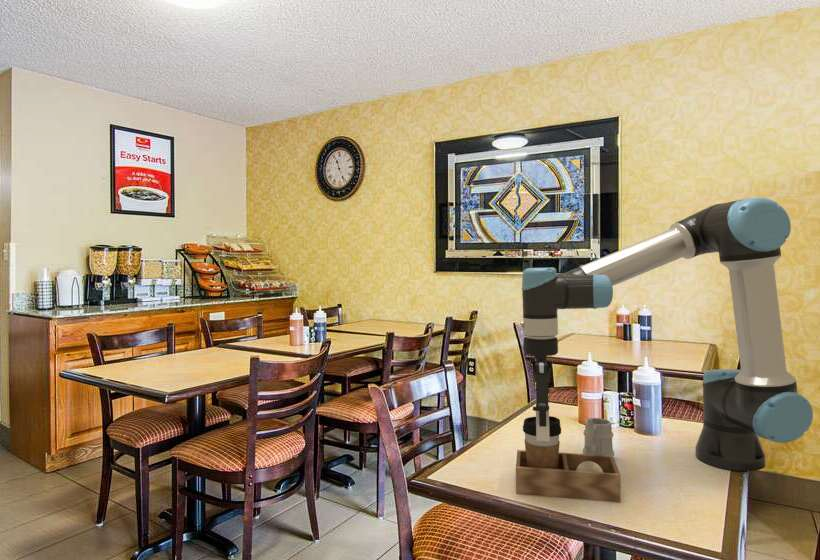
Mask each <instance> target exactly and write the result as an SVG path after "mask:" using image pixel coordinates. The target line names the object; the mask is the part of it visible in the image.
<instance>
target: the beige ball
mask: <svg viewBox="0 0 820 560" xmlns="http://www.w3.org/2000/svg"><path fill="white" fill-rule="evenodd" d="M576 471H588V472H602V473H603V470H602V468H601V467H600V466H599V465H598V464H596V463H595V462H592V461H585V462H582V463H581V464H579V466H578V467H577V469H576Z"/></svg>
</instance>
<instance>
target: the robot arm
mask: <svg viewBox="0 0 820 560" xmlns="http://www.w3.org/2000/svg"><path fill="white" fill-rule="evenodd" d="M791 226H792V225H791V219H790V217H789V214H788V212H787V211H786V210H785V209H784V207H783V206H781V205H780V204H779V203H777V202H776V201H775V200H773V199H769V198H766V197H745V198H742V199H738V200H733V201H729V202H727V201H726V202H723V203H722V202H721V203H717V204H714V205H710V206H708V207H706V208H704V209H701V210H699V211H697V212H695V213H694V214H693V213H692V214H691V215H689V216H687V217H685V218H683V219H681V220H679V221H676V222H674V223H672V224H671V225H670V226H669V228H668V229H667V230H665V231H663V232H660V233H658V234H656V235H655V234H654V235H652V236H650V237H648V238H645V239H644V240H642V241H639V242H637V243H634V244H631V245H629V246H626V247H625V248H622V249H619V250H616V251H614V252H612V253H609V254H607V255H605V256H602V257H600V258H598V259H595V260H593V261H591V262H588V263H586V264H583V265H581V266H579V267H576V268H573V269H571V270H569V271H566V272H559V273H557V268H555V267H527V268H525V269H524V270H523V272H522V278H521V293H522V295H521V296H522V320H523V321H520V326H521V327H523V335H524V338H523V339H522V341H523V342H522V343H523V345H522V346H523V353H524V354H525V355H527V356H531V357H532V356H534V359H535V360H532V361H531V370H532V371H531V372H532V373H533V374H532V376H533V382H534V383H535V384H534V386H535V406H532V411H533V412H534V411H535V417H536V441H550V436H549V416H550V405H549V394H550V392H551V389H550V388H549V383H550V378H551V377H550V372H551V361H548V360H547V357H549V356H550V357H552V356H556V355H557V354H558V353H559V339H558V337H557V335H558V334H559V324H558V323H559V321H558V317H559V316H558V310H572V309H573V310H577V309H580V310H582V309H583V310H584V309H585V310H586V309H594V310H596V309H602V308H603V309H604V308H608V307H609V306H610V305H611V303H612V302H613V297H614V286H615V285H618V284H621V283H623V282H625V281H628V280H630V279H632V278H636V277H638V276H641V275H643V274H645V273H647V272H650V271H653V270H655V269H657V268H660V267H662V266H664V265H666V264H669V263H673V262H675V261H677V260H680V259H682V258H683V259H686V260H690V259H693V258H695V257H697V256H701V255H706V254H711V253H712V254H713V253H718V257H719V263H720V265H721V264H722V265H723V266H724V267H726V268H727V269H728V275H729V282H730V283H729V284H730V291H731V299H732V306H733V307H732V308H733V315H734V323H735V332H736V339H737V349H738V357H739V358H738V359H739V363H740V369H737V368H736V369H734V368H732V369H727V368H720V369H719V368H717V369H709V370H706V371H705V372H704V373H703V376H702V377H703V378H702V379H703V380H702V393H703V394H702V395H703V396H702V399H703V401H702V406H703V407H702V408H703V409H702V410H703V411H702V412H703V413H702V414H703V415H702V416H703V417H702V419H703V420H702V421H703V423H702V425H703V426H702V429H701V431H700V434H699V437H698V439H697V442H696V444H695V457H696V458H697V459H698V460H700V461H701V462H703V463H705V464H708V465H710V466H712V467H713V466H714V467H715V468H716V467H717V468H720V469H724V470H725V469H726V470H731V471H738V472H756V471H760V470H763V469H764V468H765V467H766V454H765V452H764V450H763V446H762V444H761V441H760V438H761V439H765V440H768V441H771V442H775V443H778V444H786V443H792V442H794V441H796V440H798V439H800V438H801V437H803V435H804V434H805V433H806V432H807V431H808V430H809V429H810V427H811V425H812V422H813V418H814V410H813V407H812V404H811V403H810V401H809V400H808V399H807V398H806V397H804V396H803V394H800V393H799V392H798V385H797V378H796V377H795V376H794V375H793V374H792V373H790V372H788V370H787V363H786V355H785V345H784V338H783V329H782V322H781V321H782V320H781V313H780V304H779V297H778V290H777V289H778V288H777V279H776V278H777V277H776V273H775V264H776V263H777V261H778V260H780V258H781V257H782V250H781V249H782V248H781V247H782V246H783V245H785V243H786V241H787V239H788V238H789V237H790V234H791ZM759 437H760V438H759Z"/></svg>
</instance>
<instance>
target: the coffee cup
mask: <svg viewBox="0 0 820 560" xmlns="http://www.w3.org/2000/svg"><path fill="white" fill-rule="evenodd" d="M522 431H523V433H524V447H525V448H524V449H525V450H526V458H527V467H531V468H545V469H557V466H558V455H559V453H560V443H561V442H560V435H561V434H562V428H561V420H560V418H559V417H555V416H551V415H549V436H550V441H536V416H530V417H526V418H524V421H523V425H522Z"/></svg>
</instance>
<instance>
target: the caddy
mask: <svg viewBox="0 0 820 560" xmlns="http://www.w3.org/2000/svg"><path fill="white" fill-rule="evenodd" d="M515 460H516V462H515V494H516V495H524V496H526V495H527V496H536V497H537V496H539V497H550V498H563V499H573V500H574V499H575V500H587V501H598V502H599V501H601V502H611V503H621V502H622V501H621V499H622V498H621V497H622V496H621V495H622V494H621V493H622V492H621V490H622V489H621V483H622V482H621V479H622V477H621V474H620V470H619V468H618V466H617V463H616V461H615V459H614V457H613V456H606V455H591V454H583V453H574V452H573V453H571V452H559V455H558V466H557V469H545V468H531V467H527V458H526V449H525V450H524V449H517V451H516V459H515ZM585 461H592V462H595V463H596V464H598V465H599V466H600V467H601V468H602V470H603V473H602V472H588V471H576V469H577V467H578V466H579V464H581V463H582V462H585Z"/></svg>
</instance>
